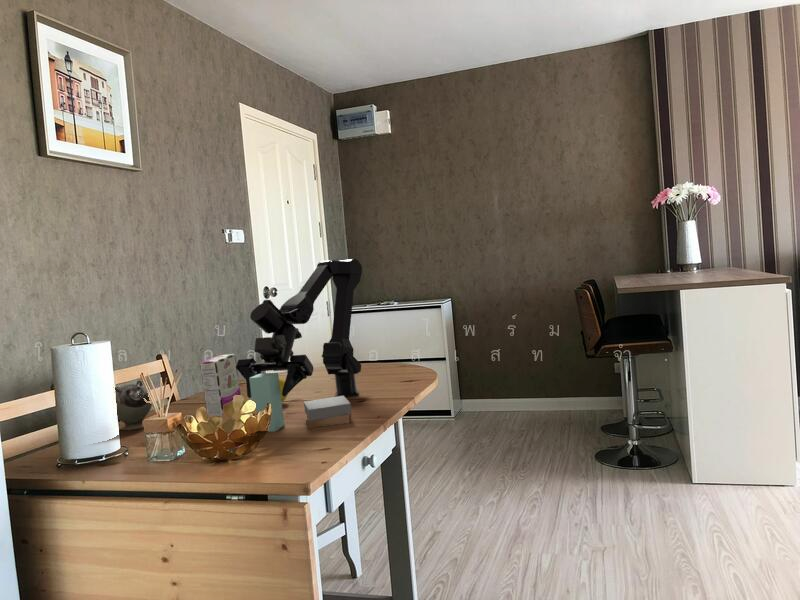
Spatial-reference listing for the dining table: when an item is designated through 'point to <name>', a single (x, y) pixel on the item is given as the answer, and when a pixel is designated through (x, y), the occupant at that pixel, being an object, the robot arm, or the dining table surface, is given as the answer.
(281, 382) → the lemon
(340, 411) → the top slab
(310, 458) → the dining table surface
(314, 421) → the bottom slab
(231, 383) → the candy bar box
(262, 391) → the pillar
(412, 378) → the dining table surface
